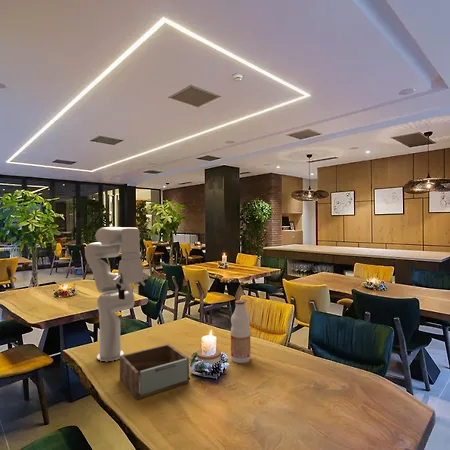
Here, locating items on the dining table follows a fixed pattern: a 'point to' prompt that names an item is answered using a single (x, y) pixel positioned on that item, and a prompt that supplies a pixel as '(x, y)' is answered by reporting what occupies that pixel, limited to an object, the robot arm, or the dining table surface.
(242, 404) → the dining table surface
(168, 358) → the crate
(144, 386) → the panel
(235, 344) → the fruit juice
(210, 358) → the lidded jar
